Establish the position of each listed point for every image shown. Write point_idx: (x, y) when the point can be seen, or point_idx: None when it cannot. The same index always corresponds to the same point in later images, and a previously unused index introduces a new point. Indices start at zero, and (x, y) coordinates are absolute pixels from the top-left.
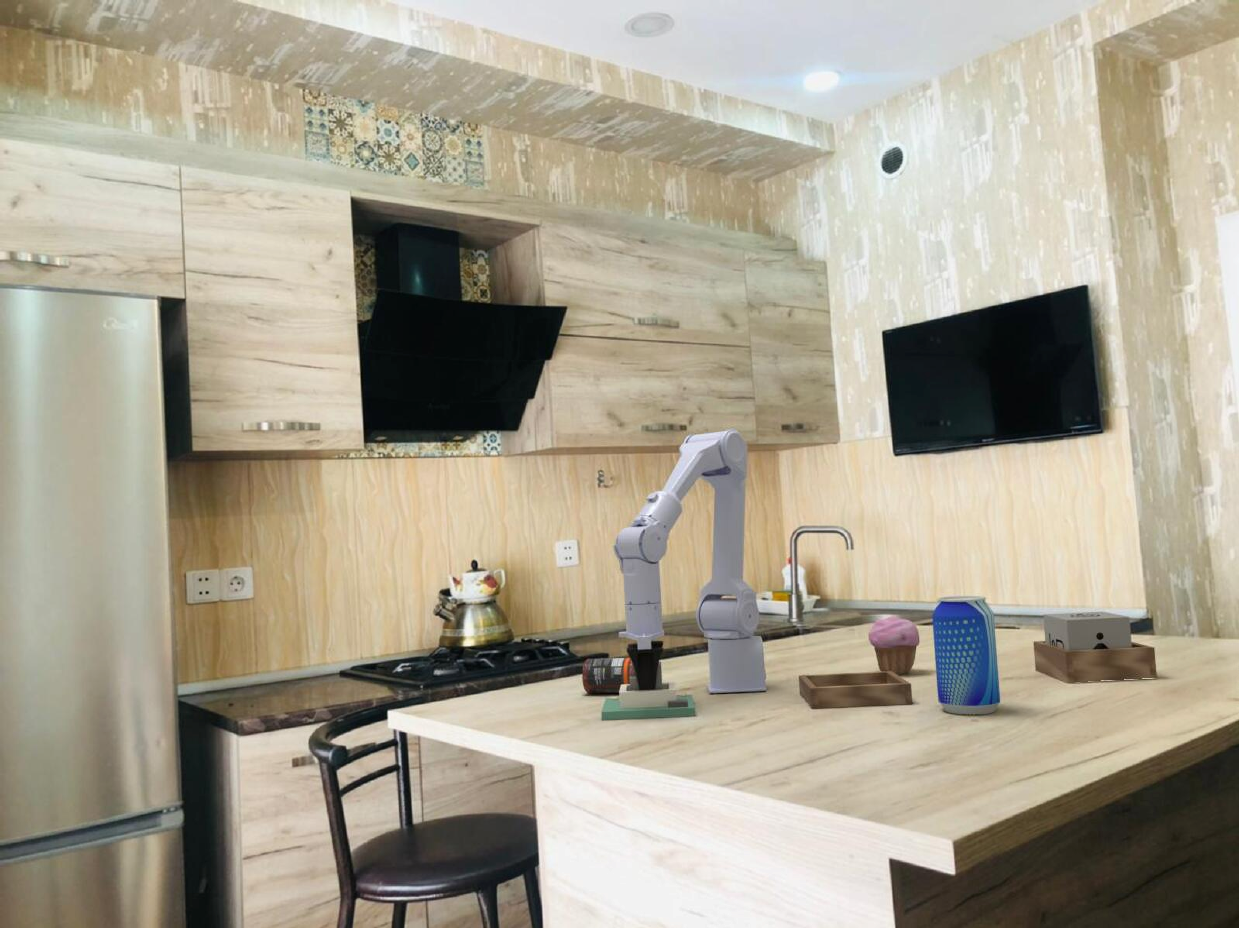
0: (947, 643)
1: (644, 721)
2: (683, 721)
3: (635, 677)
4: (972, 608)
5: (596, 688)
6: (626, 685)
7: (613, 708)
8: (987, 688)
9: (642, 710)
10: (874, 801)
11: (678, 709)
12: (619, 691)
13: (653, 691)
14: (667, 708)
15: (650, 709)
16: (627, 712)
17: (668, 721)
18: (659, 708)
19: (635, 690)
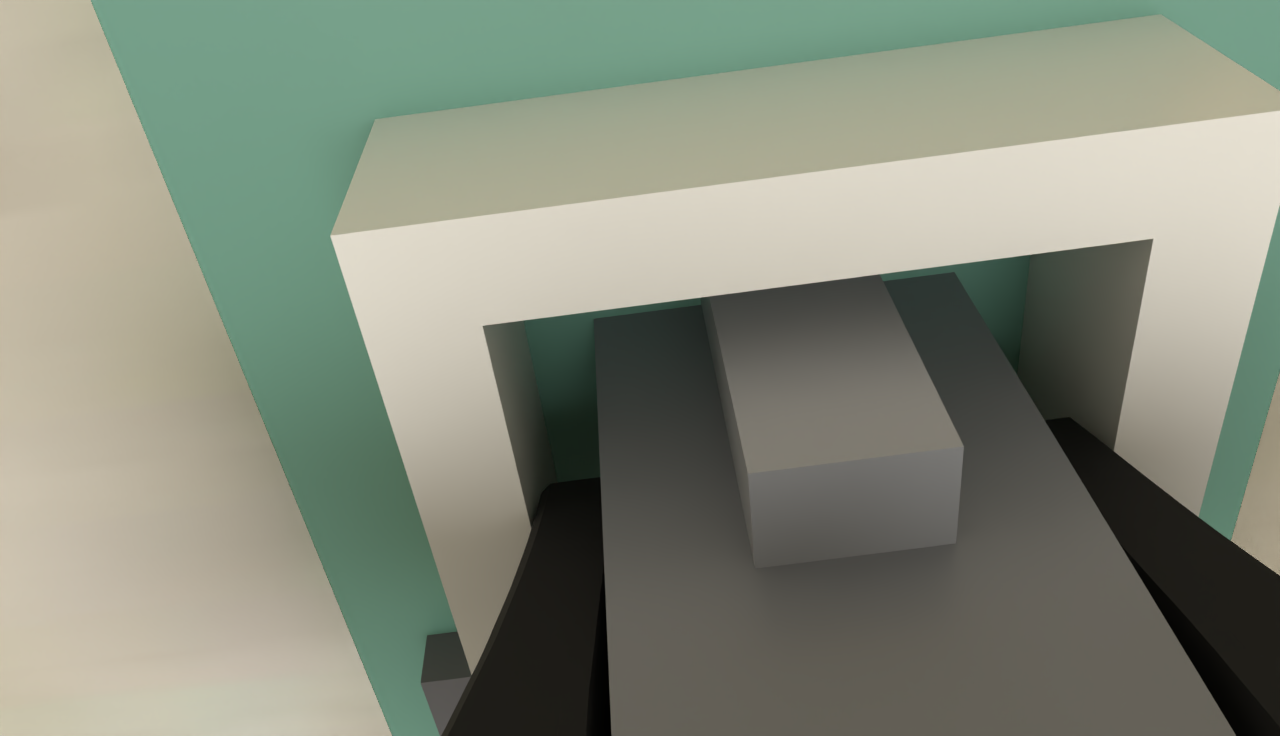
0: None
1: (126, 403)
2: (186, 698)
3: (852, 547)
4: None
5: None
6: (1142, 230)
7: (384, 10)
8: None
9: (266, 423)
10: None
11: (384, 706)
12: (462, 219)
13: (472, 661)
14: (384, 636)
15: (315, 500)
16: (205, 245)
17: (166, 600)
18: (388, 570)
19: (722, 409)
